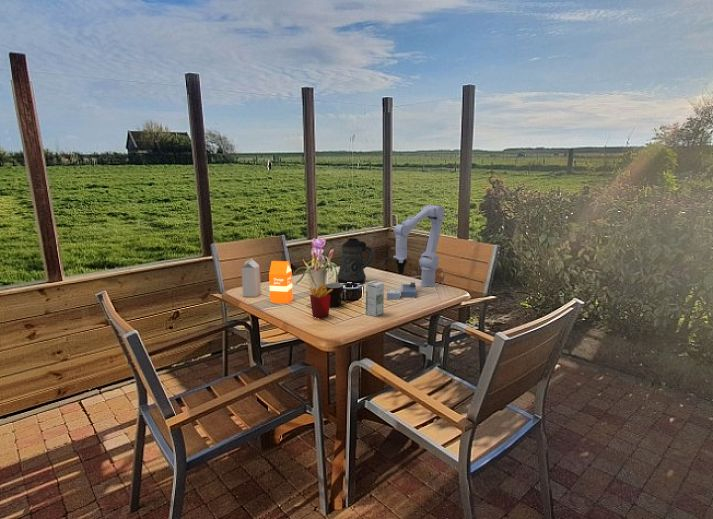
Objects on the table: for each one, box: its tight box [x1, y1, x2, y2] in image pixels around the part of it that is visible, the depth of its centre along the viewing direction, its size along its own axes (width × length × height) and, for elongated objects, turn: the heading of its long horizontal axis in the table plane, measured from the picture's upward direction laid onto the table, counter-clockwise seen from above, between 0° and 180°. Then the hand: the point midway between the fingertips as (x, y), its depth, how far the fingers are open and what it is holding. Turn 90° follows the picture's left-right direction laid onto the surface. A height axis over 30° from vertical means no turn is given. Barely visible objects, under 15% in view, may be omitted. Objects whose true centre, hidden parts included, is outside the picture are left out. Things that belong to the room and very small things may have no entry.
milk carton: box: [240, 257, 262, 298], centre depth 216 cm, size 7×7×19 cm
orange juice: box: [268, 260, 294, 304], centre depth 206 cm, size 8×9×20 cm
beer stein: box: [336, 237, 374, 285], centre depth 241 cm, size 16×19×25 cm
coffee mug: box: [325, 282, 344, 309], centre depth 200 cm, size 12×9×10 cm
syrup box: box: [365, 280, 385, 317], centre depth 186 cm, size 6×6×14 cm
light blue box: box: [386, 289, 401, 300], centre depth 212 cm, size 6×6×3 cm
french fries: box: [309, 283, 333, 320], centre depth 183 cm, size 9×8×15 cm
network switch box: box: [400, 282, 417, 298], centre depth 218 cm, size 14×8×4 cm, turn 173°
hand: (400, 273), depth 220 cm, fingers closed
